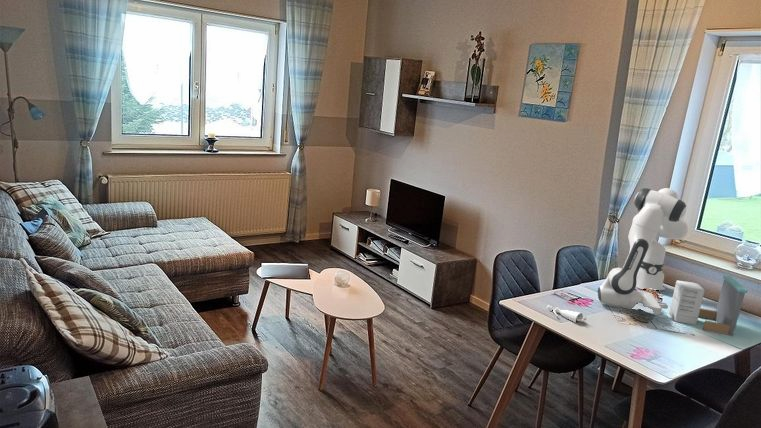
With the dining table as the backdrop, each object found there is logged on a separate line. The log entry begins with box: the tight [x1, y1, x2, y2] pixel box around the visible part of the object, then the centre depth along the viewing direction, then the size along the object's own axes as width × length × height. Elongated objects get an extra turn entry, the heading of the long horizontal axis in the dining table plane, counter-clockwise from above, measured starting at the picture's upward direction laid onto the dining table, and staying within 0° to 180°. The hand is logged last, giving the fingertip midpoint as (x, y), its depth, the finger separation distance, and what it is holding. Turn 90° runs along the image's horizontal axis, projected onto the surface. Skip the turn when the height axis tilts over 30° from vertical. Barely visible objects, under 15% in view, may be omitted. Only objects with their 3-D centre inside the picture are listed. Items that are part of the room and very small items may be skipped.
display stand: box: [698, 274, 748, 336], centre depth 240 cm, size 19×12×21 cm, turn 166°
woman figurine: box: [546, 304, 587, 324], centre depth 233 cm, size 12×4×18 cm
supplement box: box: [668, 279, 706, 326], centre depth 243 cm, size 10×9×17 cm
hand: (667, 306), depth 245 cm, fingers closed
